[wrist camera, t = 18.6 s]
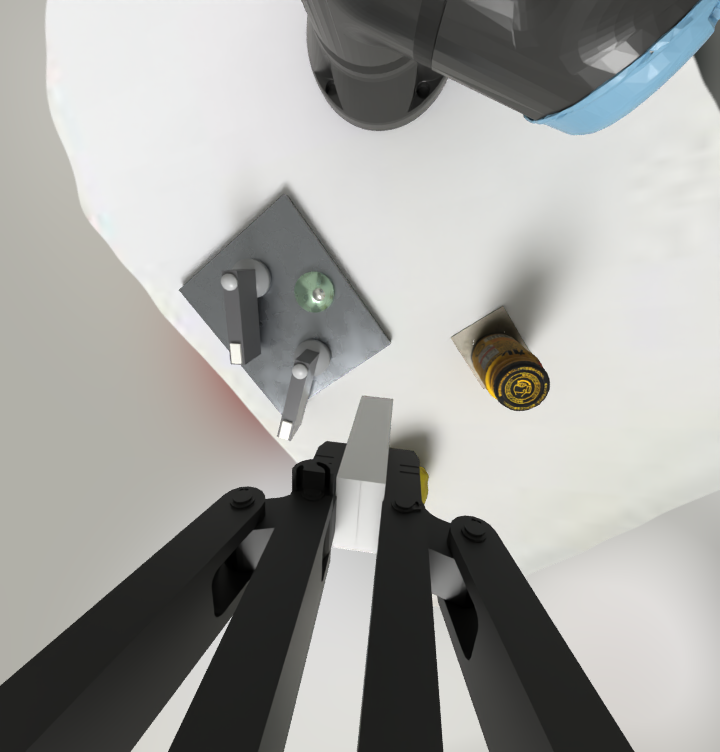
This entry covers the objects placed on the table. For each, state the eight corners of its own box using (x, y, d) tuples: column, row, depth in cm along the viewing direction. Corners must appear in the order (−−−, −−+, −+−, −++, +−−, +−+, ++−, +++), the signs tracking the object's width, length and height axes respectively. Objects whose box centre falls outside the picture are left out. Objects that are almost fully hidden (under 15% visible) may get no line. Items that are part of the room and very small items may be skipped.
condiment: (483, 388, 47) (507, 430, 36) (450, 337, 46) (465, 364, 34) (534, 360, 45) (577, 395, 34) (502, 305, 43) (536, 323, 32)
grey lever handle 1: (233, 258, 44) (205, 258, 38) (269, 259, 44) (247, 259, 38) (241, 350, 48) (217, 364, 42) (275, 352, 48) (256, 366, 42)
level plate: (184, 289, 48) (174, 290, 46) (287, 195, 42) (281, 192, 40) (285, 412, 52) (280, 419, 50) (390, 342, 47) (390, 346, 45)
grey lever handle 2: (300, 334, 46) (284, 346, 40) (334, 345, 46) (323, 359, 40) (282, 412, 51) (265, 434, 44) (313, 422, 50) (301, 445, 44)
